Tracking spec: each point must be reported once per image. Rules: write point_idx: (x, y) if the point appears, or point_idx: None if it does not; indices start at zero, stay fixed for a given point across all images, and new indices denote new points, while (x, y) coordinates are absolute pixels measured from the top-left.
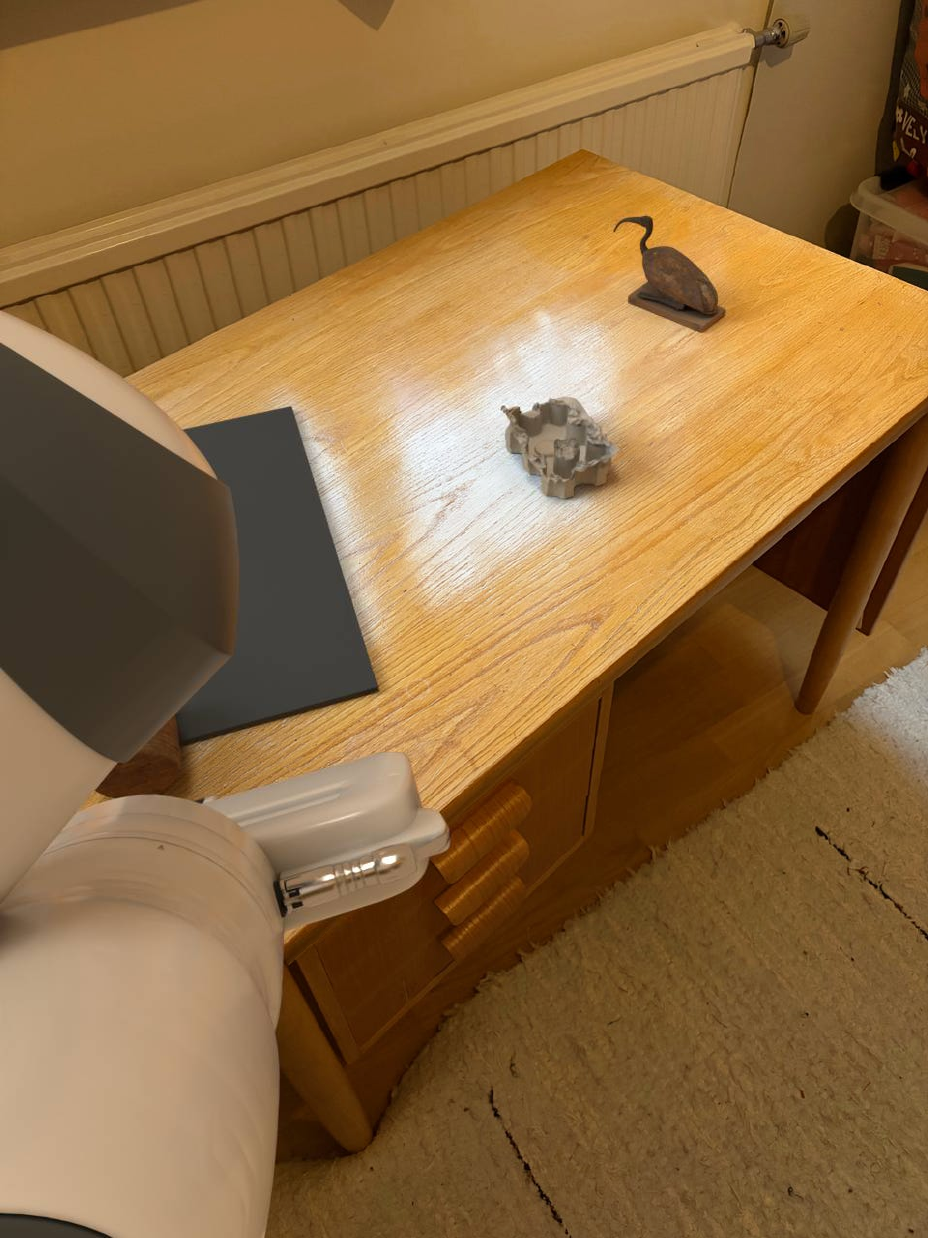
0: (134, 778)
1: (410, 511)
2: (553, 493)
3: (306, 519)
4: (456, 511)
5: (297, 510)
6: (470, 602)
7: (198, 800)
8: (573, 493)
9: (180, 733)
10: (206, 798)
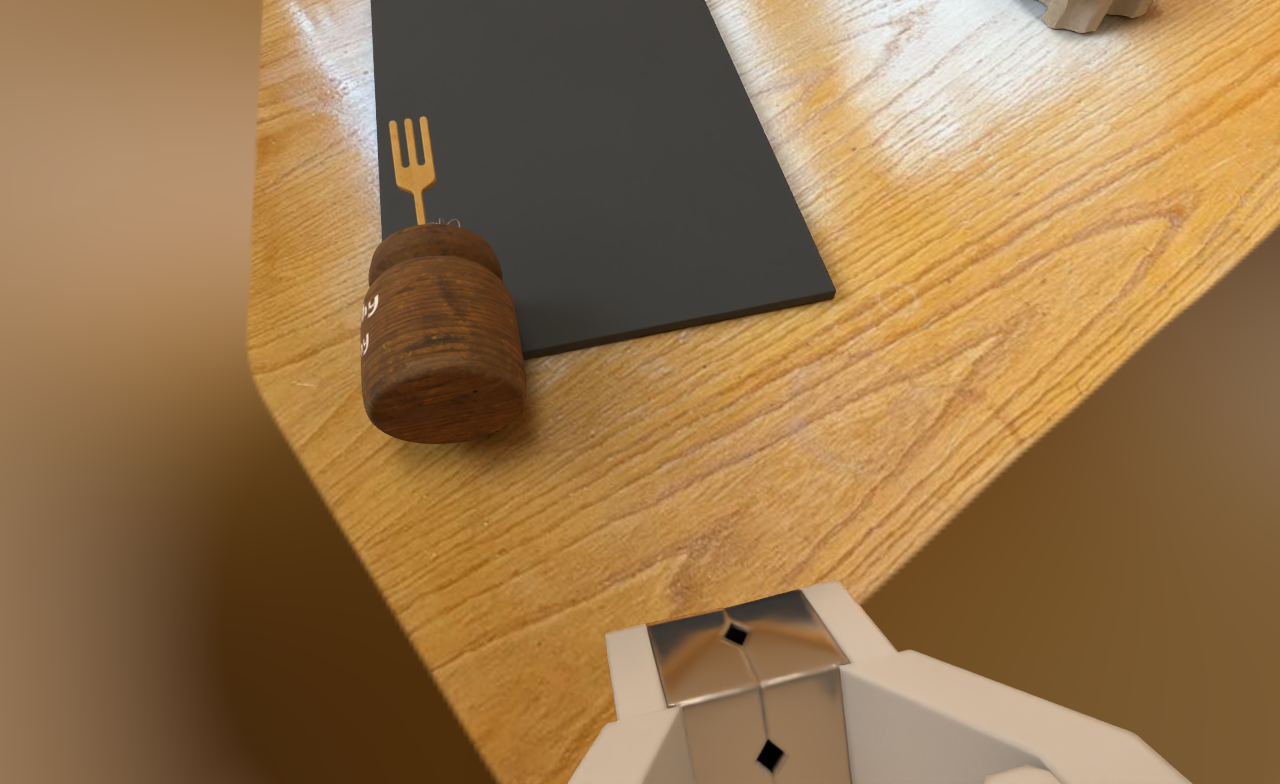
0: (447, 413)
1: (845, 38)
2: (1066, 24)
3: (692, 38)
4: (916, 42)
5: (677, 25)
6: (961, 172)
7: (781, 601)
8: (1098, 25)
9: None
10: (818, 599)
